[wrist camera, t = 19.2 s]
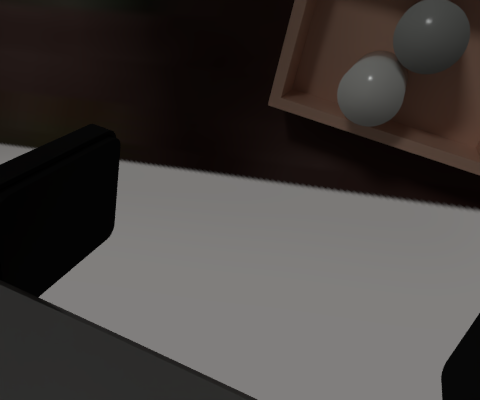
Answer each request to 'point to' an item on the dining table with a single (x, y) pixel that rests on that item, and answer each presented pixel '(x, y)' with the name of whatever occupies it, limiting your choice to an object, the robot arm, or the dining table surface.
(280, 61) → the brown shallow rectangular tray
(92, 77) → the dining table surface
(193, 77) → the dining table surface
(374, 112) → the pebble grey
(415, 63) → the pebble dark
